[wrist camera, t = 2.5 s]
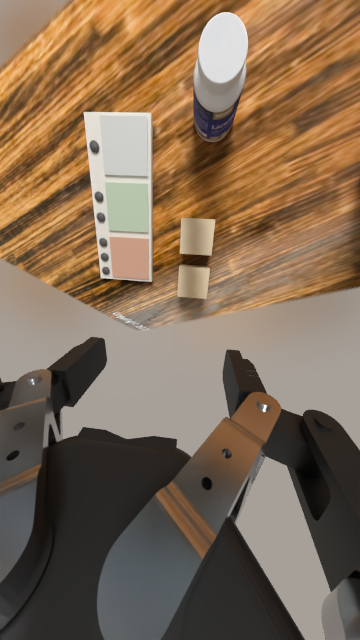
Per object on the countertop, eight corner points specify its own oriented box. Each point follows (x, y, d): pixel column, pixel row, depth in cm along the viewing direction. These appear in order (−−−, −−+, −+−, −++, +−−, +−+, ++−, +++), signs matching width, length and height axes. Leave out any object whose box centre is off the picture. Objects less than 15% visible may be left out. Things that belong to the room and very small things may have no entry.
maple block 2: (208, 265, 34) (210, 268, 29) (205, 292, 36) (206, 298, 31) (181, 264, 34) (179, 266, 30) (180, 290, 36) (177, 296, 32)
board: (152, 117, 27) (150, 111, 26) (152, 280, 36) (151, 282, 35) (87, 116, 28) (82, 110, 26) (103, 277, 36) (100, 278, 35)
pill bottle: (213, 153, 28) (221, 106, 19) (185, 122, 27) (179, 55, 18) (242, 114, 26) (267, 41, 17) (214, 79, 25) (224, -21, 16)
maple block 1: (212, 223, 31) (215, 219, 27) (209, 254, 33) (211, 255, 29) (183, 222, 32) (181, 217, 27) (182, 252, 34) (179, 253, 29)
